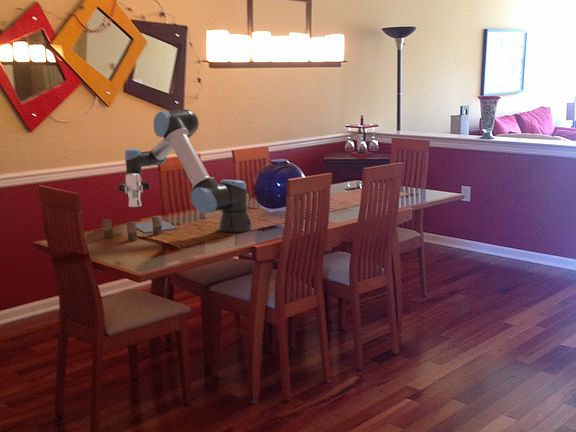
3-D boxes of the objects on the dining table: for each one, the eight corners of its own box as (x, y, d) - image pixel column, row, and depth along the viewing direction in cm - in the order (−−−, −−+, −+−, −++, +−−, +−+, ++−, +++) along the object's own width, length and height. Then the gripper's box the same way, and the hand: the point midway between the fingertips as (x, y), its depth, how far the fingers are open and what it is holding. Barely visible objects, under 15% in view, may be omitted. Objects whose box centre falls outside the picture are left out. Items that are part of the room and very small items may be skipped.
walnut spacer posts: (167, 236, 319) (165, 218, 317) (112, 243, 307) (110, 226, 305) (155, 229, 332) (154, 213, 331) (102, 237, 321) (101, 219, 319)
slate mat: (178, 228, 333) (177, 227, 333) (145, 233, 326) (145, 232, 325) (163, 221, 350) (163, 220, 350) (132, 226, 343) (132, 224, 343)
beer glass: (124, 206, 330) (122, 175, 327) (132, 204, 337) (130, 173, 334) (137, 207, 328) (135, 175, 325) (145, 204, 335) (143, 173, 332)
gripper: (155, 189, 351) (155, 196, 329) (114, 191, 347) (112, 199, 325) (153, 174, 349) (154, 180, 327) (113, 176, 346) (111, 183, 323)
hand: (133, 190), depth 326 cm, fingers closed on beer glass, 7 cm apart
